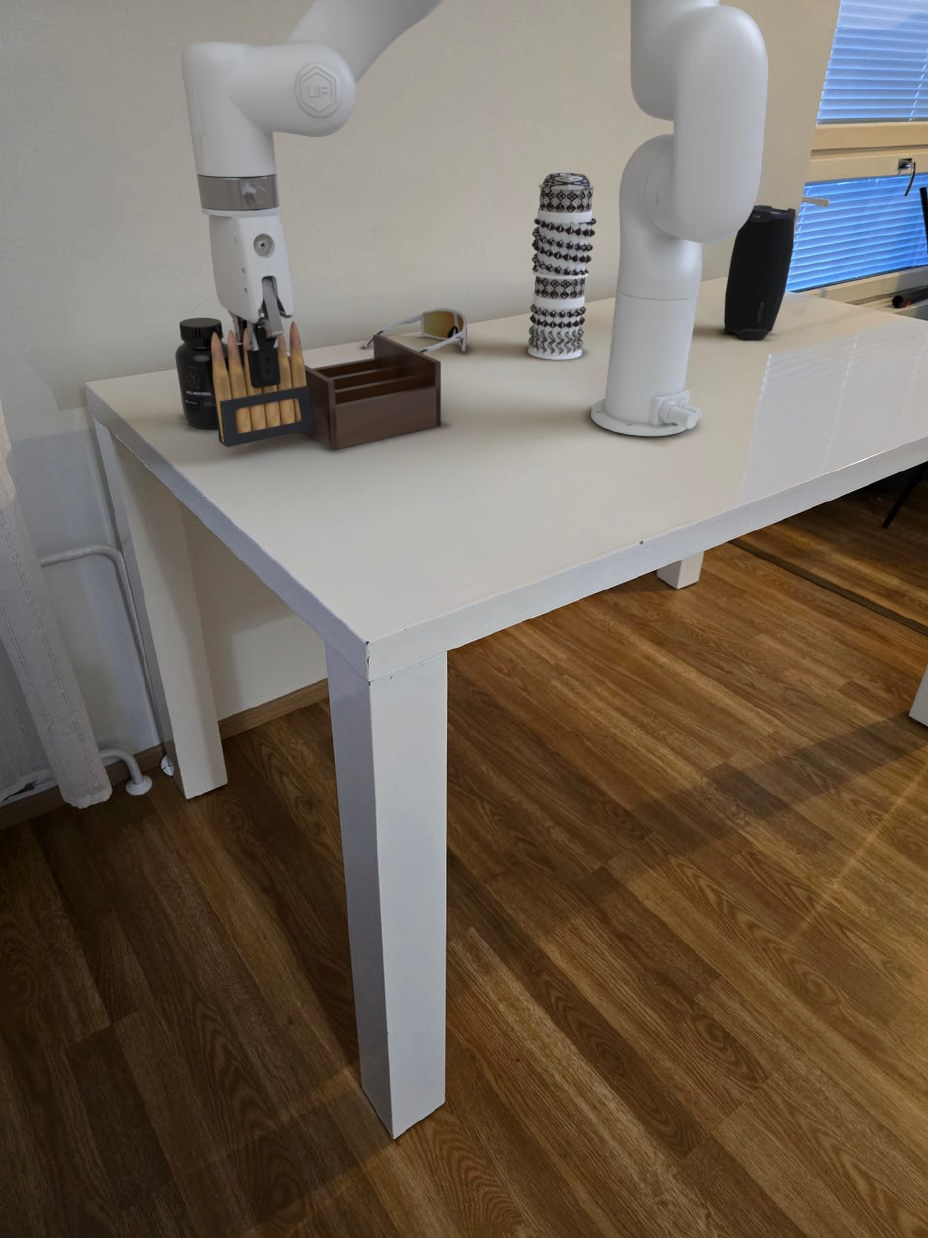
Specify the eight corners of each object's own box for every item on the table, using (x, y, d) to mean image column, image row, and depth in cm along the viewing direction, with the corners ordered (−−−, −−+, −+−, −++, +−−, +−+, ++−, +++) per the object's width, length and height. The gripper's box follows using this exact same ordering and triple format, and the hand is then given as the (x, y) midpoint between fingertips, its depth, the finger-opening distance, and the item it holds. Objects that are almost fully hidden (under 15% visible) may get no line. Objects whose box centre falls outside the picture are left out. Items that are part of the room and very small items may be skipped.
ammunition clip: (225, 447, 92) (208, 335, 86) (218, 442, 93) (202, 331, 87) (314, 429, 97) (305, 321, 91) (307, 424, 99) (297, 318, 92)
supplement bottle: (192, 433, 102) (175, 331, 95) (180, 416, 107) (163, 318, 100) (248, 425, 104) (235, 325, 98) (234, 408, 109) (221, 312, 103)
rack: (441, 425, 105) (441, 361, 101) (333, 450, 98) (327, 381, 93) (380, 393, 115) (378, 333, 111) (278, 413, 108) (271, 350, 104)
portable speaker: (720, 326, 149) (742, 203, 138) (776, 331, 146) (802, 206, 136) (716, 337, 142) (738, 209, 132) (774, 343, 140) (801, 212, 129)
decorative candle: (587, 360, 130) (604, 178, 116) (527, 359, 130) (537, 176, 116) (581, 344, 137) (596, 171, 124) (524, 343, 137) (533, 170, 124)
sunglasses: (486, 350, 133) (483, 319, 130) (405, 379, 127) (400, 347, 124) (437, 331, 143) (433, 301, 140) (360, 357, 137) (354, 326, 134)
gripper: (310, 202, 79) (325, 396, 89) (244, 185, 89) (264, 360, 99) (233, 207, 75) (258, 409, 85) (174, 189, 86) (202, 370, 96)
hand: (261, 381), depth 92 cm, fingers closed on ammunition clip, 1 cm apart
